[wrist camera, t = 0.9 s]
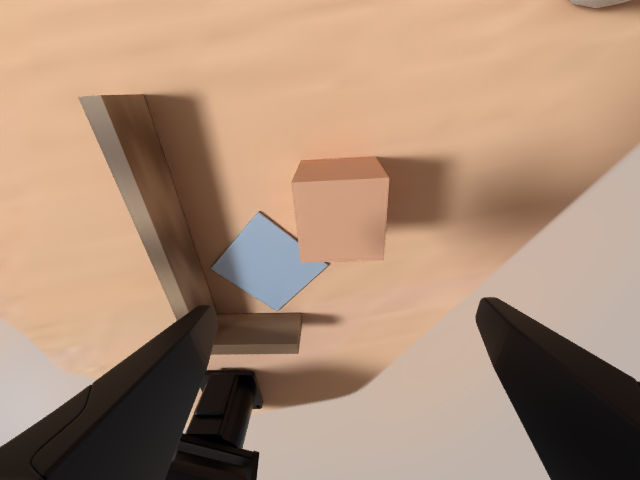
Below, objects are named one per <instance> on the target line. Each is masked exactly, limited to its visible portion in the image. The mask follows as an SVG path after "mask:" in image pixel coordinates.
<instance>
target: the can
mask: <svg viewBox="0 0 640 480" xmlns="http://www.w3.org/2000/svg"><path fill="white" fill-rule="evenodd" d="M569 1H570V2H572V3H573V4H576V5H581V6H587V7H592V8H600V7H605V6H610V5H615V4H620V3H624V2H627V1H631V0H569Z"/></svg>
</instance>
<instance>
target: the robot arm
mask: <svg viewBox="0 0 640 480" xmlns="http://www.w3.org/2000/svg"><path fill="white" fill-rule="evenodd" d="M476 323H477V326H478V329H479V331H480V334H481V337H482V339H483V341H484V344H485V347H486V349H487V352H488V355H489V357H490V360H491V362H492V365H493V367H494V369H495V371H496V373H497V375H498V377H499V379H500V381H501V383H502V385H503V387H504V389H505V391H506V393H507V395H508V397H509V399H510V401H511V403H512V404H513V407H514V408H515V411H516V412H517V414H518V416H519V418H520V420H521V422H522V424H523V426H524V428H525V430H526V432H527V434H528V436H529V438H530V440H531V442H532V444H533V446H534V448H535V450H536V451H537V453H538V455H539V457H540V459H541V461H542V463H543V465H544V467H545V469H546V471H547V473H548V475H549V477H550V479H551V480H640V382H637V381H636V380H635V379H634V378H633V377H631V376H629V375H627V374H626V373H624V372H622V371H621V370H619V369H617V368H616V367H614V366H612V365H610V364H609V363H607V362H605V361H603V360H602V359H600V358H598V357H597V356H595V355H593V354H592V353H590V352H588V351H587V350H585V349H583V348H582V347H580V346H578V345H576V344H575V343H573V342H571V341H570V340H568V339H566V338H564V337H563V336H561V335H559V334H558V333H556V332H554V331H553V330H551V329H549V328H547V327H546V326H544V325H542V324H540V323H539V322H537V321H536V320H534V319H532V318H530V317H529V316H527V315H525V314H523V313H522V312H520V311H518V310H517V309H515V308H513V307H512V306H510V305H508V304H507V303H505V302H503V301H501V300H500V299H498V298H494V297H485V298H482V299H481V300H480V303H479V306H478V310H477V313H476ZM217 329H218V320H217V317H216V315H215V312H214V309H213V306H212V305H210V304H204V305H198V306H197V307H195V308H194V309H192V310H191V311H190V312H188V313H187V314H186V315H184V316H183V317H182V318H180V319H179V320H178V321H176V322H175V323H173V324H172V325H171V326H169V327H168V328H167V329H165V330H164V331H163V332H161V333H160V334H159V335H157V336H156V337H154V338H153V339H152V340H150V341H149V342H148V343H146V344H145V345H144V346H142V347H141V348H140V349H138V350H137V351H135V352H134V353H133V354H131V355H130V356H129V357H127V358H126V359H125V360H123V361H122V362H120V363H119V364H118V365H116V366H115V367H114V368H112V369H111V370H110V371H108V372H107V373H106V374H104V375H103V376H101V377H100V378H99V379H97V380H96V381H95V382H94V383H93V384H92V385H89V386H88V387H86V388H85V389H84V390H83V391H81V392H80V393H78V394H77V395H76V396H74V397H73V398H71V399H70V400H69V401H67V402H66V403H64V404H63V405H62V406H60V407H59V408H58V409H56V410H55V411H53V412H52V413H50V414H49V415H47V416H46V417H44V418H43V419H42V420H40V421H39V422H37V423H36V424H34V425H33V426H31V427H30V428H28V429H27V430H25V431H24V432H22V433H21V434H19V435H18V436H16V437H15V438H13V439H12V440H10V441H9V442H7V443H6V444H4V445H3V446H1V447H0V480H256V478H257V469H258V460H259V452H257V451H253V452H252V451H248V450H245V449H242V448H243V444H244V440H245V436H246V432H247V428H248V424H249V419H250V415H251V411H252V409H261V408H262V406H263V401H262V398H261V394H260V391H259V387H258V384H257V380H256V377H255V374H254V373H253V372H206V370H207V366H208V363H209V359H210V355H211V352H212V348H213V344H214V340H215V337H216V333H217ZM199 388H201V390H202V395H201V397H200V400H199V402H198V404H197V407H196V409H195V411H194V415H193V417H192V419H191V422H190V424H189V426H188V429H187V431H186V433H185V434H183V430H184V428H185V425H186V422H187V420H188V417H189V415H190V412H191V409H192V407H193V404H194V402H195V399H196V396H197V394H198V391H199Z"/></svg>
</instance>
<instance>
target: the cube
mask: <svg viewBox="0 0 640 480" xmlns="http://www.w3.org/2000/svg"><path fill="white" fill-rule="evenodd" d="M291 184H292V192H293V201H294V210H295V218H296V227H297V236H298V245H299V253H300V262H301V263H308V262H342V261H375V260H384V250H385V235H386V220H387V205H388V190H389V176H388V175H387V173H386V172H385V170H384V169H383V167H382V166H381V164H380V163H379V161H378V160H377V158H376V157H359V158H341V159H322V160H303V161H300V164H299V166H298V168H297V171H296V173H295V175H294V178H293V180H292V182H291Z"/></svg>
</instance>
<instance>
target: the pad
mask: <svg viewBox="0 0 640 480" xmlns="http://www.w3.org/2000/svg"><path fill="white" fill-rule="evenodd" d="M327 266H328V264H327V263H326V262H308V263H301V262H300V253H299V245H298V241H297V240H296V239H294V238H293V237H292V236H290V235H289V234H288V233H286V232H285V231H284V230H282V229H281V228H280V227H279V226H277V225H276V224H275V223H273V222H272V221H271V220H269V219H268V218H267V217H265V216H264V215H263V214H262V213H260V212H258V213H257V214H256V215H255V217H254V218H253V219H252V220H251V221H250V222H249V224H248V225H247V226H246V227H245V228H244V230H243V231H242V232H241V233H240V234H239V236H238V237H237V238H236V239H235V240H234V241H233V243H232V244H231V245H230V246H229V247H228V249H227V250H226V251H225V252H224V253H223V255H222V256H221V257H220V258H219V259H218V260H217V262H216V263H215V264H214V265H213V266H212V268H211V269H212V270H213V271H215V272H216V273H218V274H219V275H221V276H222V277H224V278H226V279H227V280H229V281H230V282H232V283H233V284H235V285H236V286H238V287H240V288H241V289H243V290H244V291H246V292H247V293H249V294H251V295H252V296H254V297H255V298H257V299H258V300H260V301H261V302H263V303H265V304H266V305H268V306H269V307H271V308H272V309H274V310H275V311H278V310H279V309H280V308H281V307H282V306H283V305H284V304H285V303H287V302H288V301H289V300H290V299H291V298H292V297H293V296H294V295H295V294H297V293H298V292H299V291H300V290H301V289H302V288H303V287H304V286H306V285H307V284H308V283H309V282H310V281H311V280H312V279H313V278H314V277H316V276H317V275H318V274H319V273H320V272H321V271H322V270H323V269H324V268H326V267H327Z"/></svg>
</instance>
